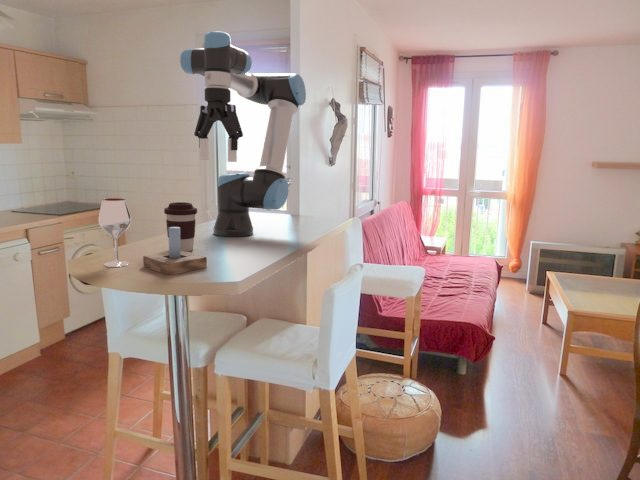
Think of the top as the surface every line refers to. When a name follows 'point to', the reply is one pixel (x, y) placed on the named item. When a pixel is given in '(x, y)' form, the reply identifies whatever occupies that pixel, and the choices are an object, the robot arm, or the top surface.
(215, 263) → the top surface
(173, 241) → the peg
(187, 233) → the coffee cup
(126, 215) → the wineglass
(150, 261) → the hole block
